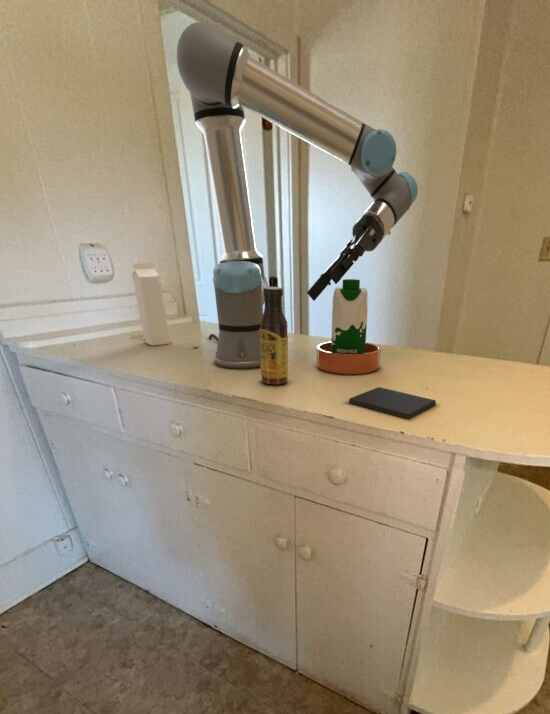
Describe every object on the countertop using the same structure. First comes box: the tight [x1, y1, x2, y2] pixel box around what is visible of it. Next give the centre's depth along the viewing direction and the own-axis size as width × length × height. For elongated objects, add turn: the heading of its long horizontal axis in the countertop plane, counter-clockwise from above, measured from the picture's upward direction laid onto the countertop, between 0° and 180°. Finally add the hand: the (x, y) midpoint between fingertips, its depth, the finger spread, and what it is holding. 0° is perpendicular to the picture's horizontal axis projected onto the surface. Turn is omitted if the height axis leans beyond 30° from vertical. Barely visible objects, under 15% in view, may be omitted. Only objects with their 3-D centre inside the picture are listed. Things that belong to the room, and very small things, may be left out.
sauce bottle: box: [260, 286, 289, 386], centre depth 95 cm, size 7×6×20 cm
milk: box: [131, 262, 171, 347], centre depth 130 cm, size 6×6×22 cm
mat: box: [348, 386, 437, 420], centre depth 87 cm, size 14×11×1 cm
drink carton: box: [331, 278, 369, 354], centre depth 107 cm, size 9×9×20 cm
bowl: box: [316, 341, 381, 376], centre depth 111 cm, size 16×16×5 cm
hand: (320, 288), depth 104 cm, fingers open, 13 cm apart
